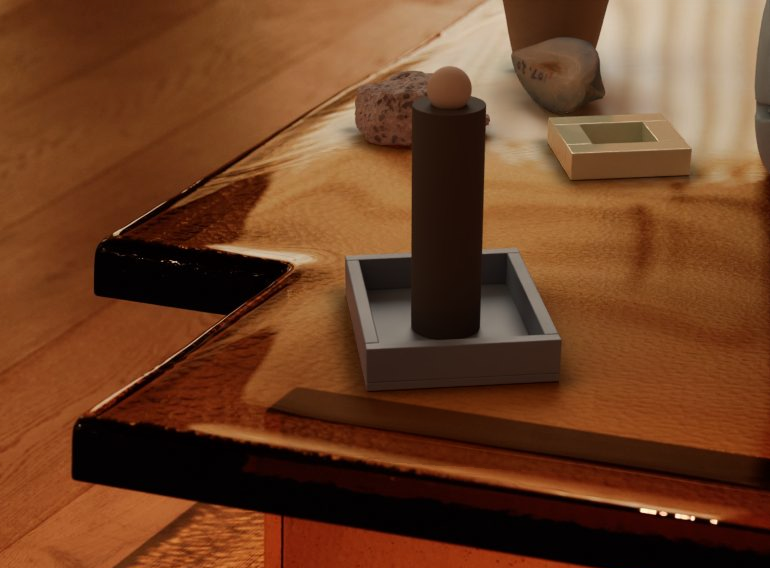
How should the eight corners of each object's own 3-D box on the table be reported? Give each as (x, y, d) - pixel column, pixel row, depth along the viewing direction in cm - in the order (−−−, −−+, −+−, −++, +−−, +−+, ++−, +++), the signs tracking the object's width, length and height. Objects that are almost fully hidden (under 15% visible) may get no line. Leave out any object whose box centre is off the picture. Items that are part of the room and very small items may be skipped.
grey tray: (559, 381, 88) (562, 339, 86) (366, 391, 87) (365, 349, 86) (516, 285, 99) (517, 247, 98) (345, 293, 98) (344, 255, 97)
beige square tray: (689, 175, 117) (692, 148, 116) (570, 180, 116) (571, 153, 115) (659, 138, 124) (661, 112, 123) (546, 142, 123) (548, 117, 122)
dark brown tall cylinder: (485, 338, 91) (493, 75, 84) (415, 342, 91) (416, 78, 83) (474, 310, 95) (481, 55, 87) (407, 314, 94) (407, 58, 87)
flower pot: (499, 48, 147) (503, -66, 142) (623, 55, 145) (632, -61, 140) (475, 82, 138) (478, -39, 133) (607, 90, 135) (616, -33, 130)
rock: (369, 110, 131) (368, 60, 129) (499, 120, 128) (500, 69, 126) (337, 144, 124) (336, 91, 122) (474, 155, 121) (475, 101, 119)
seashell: (527, 47, 137) (499, 5, 127) (628, 72, 134) (608, 30, 124) (503, 118, 137) (473, 81, 127) (603, 144, 134) (581, 108, 125)
